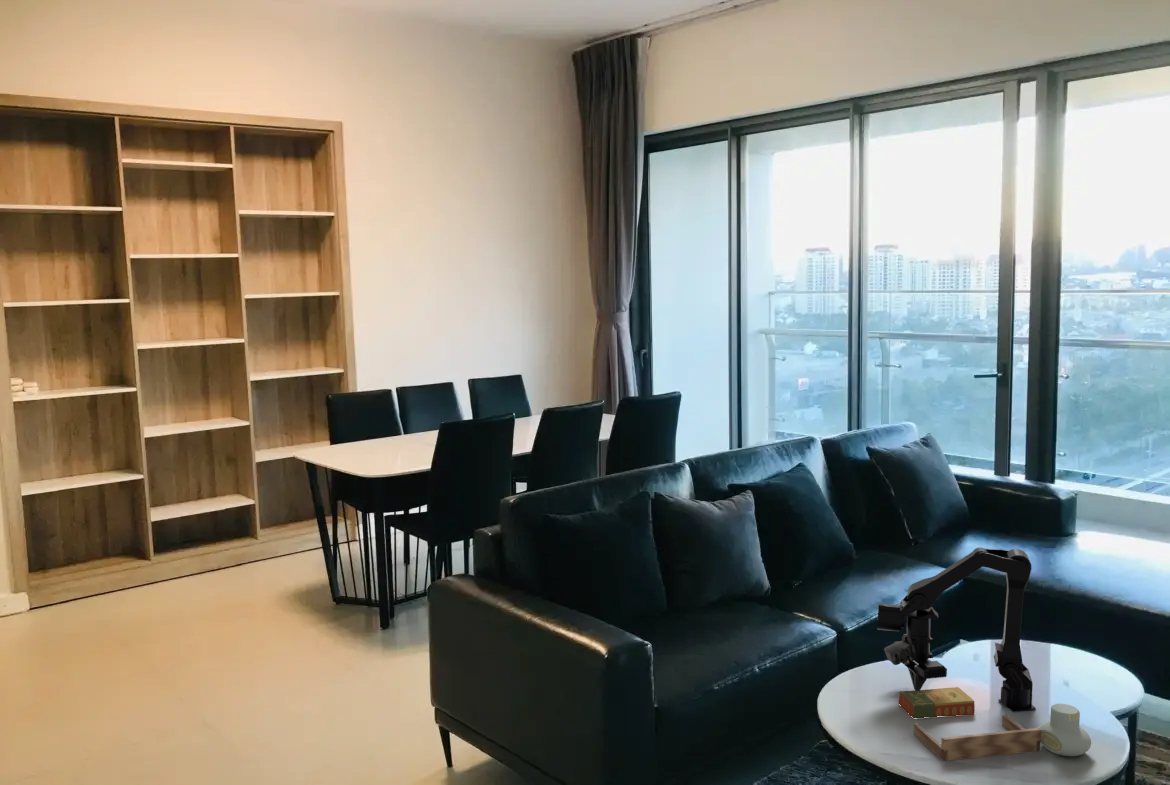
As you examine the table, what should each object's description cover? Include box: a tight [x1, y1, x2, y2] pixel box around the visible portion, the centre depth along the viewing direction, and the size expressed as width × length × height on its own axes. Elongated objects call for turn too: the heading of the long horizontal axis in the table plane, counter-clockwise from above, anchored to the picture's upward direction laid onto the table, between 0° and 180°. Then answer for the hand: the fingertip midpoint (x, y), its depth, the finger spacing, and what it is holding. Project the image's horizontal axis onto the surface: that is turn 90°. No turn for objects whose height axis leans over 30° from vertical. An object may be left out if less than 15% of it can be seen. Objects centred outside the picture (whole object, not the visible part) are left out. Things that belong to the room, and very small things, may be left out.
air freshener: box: [1038, 703, 1092, 757], centre depth 217 cm, size 11×8×10 cm
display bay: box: [913, 714, 1042, 762], centre depth 221 cm, size 24×13×5 cm, turn 100°
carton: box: [898, 686, 976, 719], centre depth 239 cm, size 8×16×4 cm, turn 96°
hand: (917, 690), depth 248 cm, fingers closed
